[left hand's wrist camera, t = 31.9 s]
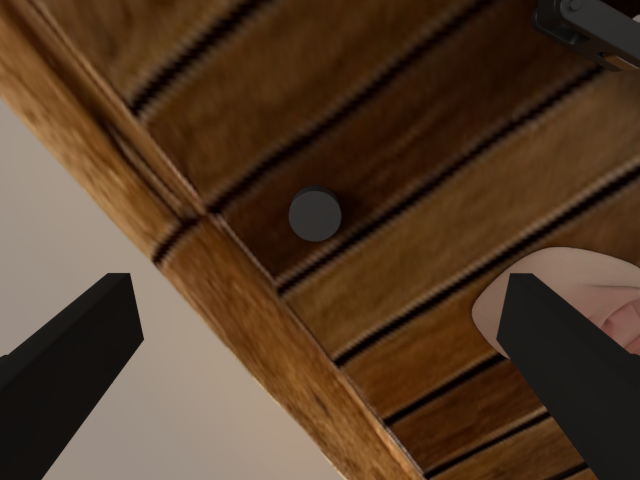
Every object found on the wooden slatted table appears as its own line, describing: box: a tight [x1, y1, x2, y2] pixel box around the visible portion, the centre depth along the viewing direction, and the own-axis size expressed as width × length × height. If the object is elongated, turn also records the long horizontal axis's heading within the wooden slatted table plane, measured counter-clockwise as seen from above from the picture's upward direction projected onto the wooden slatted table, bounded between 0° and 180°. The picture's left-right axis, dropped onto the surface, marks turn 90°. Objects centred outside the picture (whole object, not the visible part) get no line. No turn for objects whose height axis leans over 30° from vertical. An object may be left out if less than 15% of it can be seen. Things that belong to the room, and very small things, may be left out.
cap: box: [289, 185, 341, 241], centre depth 26 cm, size 4×4×2 cm
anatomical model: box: [472, 247, 640, 359], centre depth 28 cm, size 13×4×12 cm
